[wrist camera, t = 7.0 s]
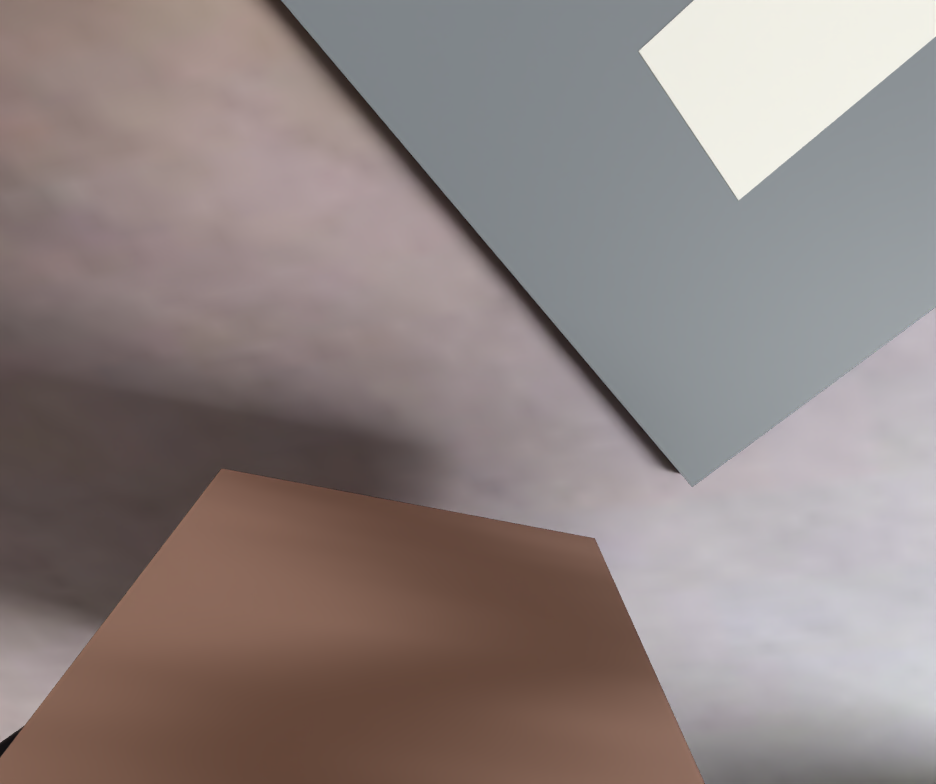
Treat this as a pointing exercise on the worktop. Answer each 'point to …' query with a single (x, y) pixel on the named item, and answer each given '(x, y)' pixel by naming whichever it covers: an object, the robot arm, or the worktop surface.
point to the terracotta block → (357, 656)
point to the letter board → (677, 181)
